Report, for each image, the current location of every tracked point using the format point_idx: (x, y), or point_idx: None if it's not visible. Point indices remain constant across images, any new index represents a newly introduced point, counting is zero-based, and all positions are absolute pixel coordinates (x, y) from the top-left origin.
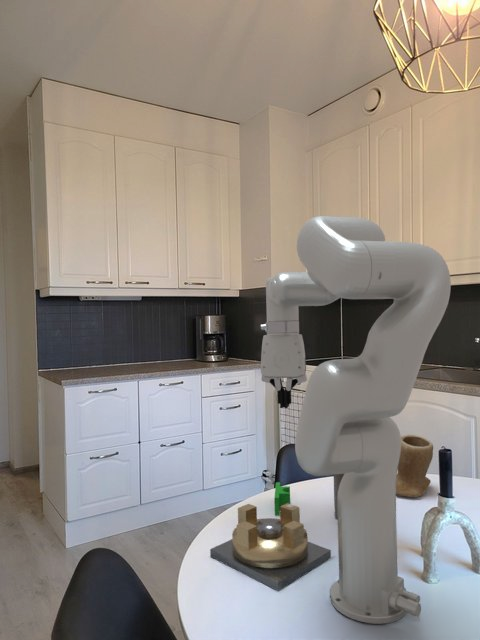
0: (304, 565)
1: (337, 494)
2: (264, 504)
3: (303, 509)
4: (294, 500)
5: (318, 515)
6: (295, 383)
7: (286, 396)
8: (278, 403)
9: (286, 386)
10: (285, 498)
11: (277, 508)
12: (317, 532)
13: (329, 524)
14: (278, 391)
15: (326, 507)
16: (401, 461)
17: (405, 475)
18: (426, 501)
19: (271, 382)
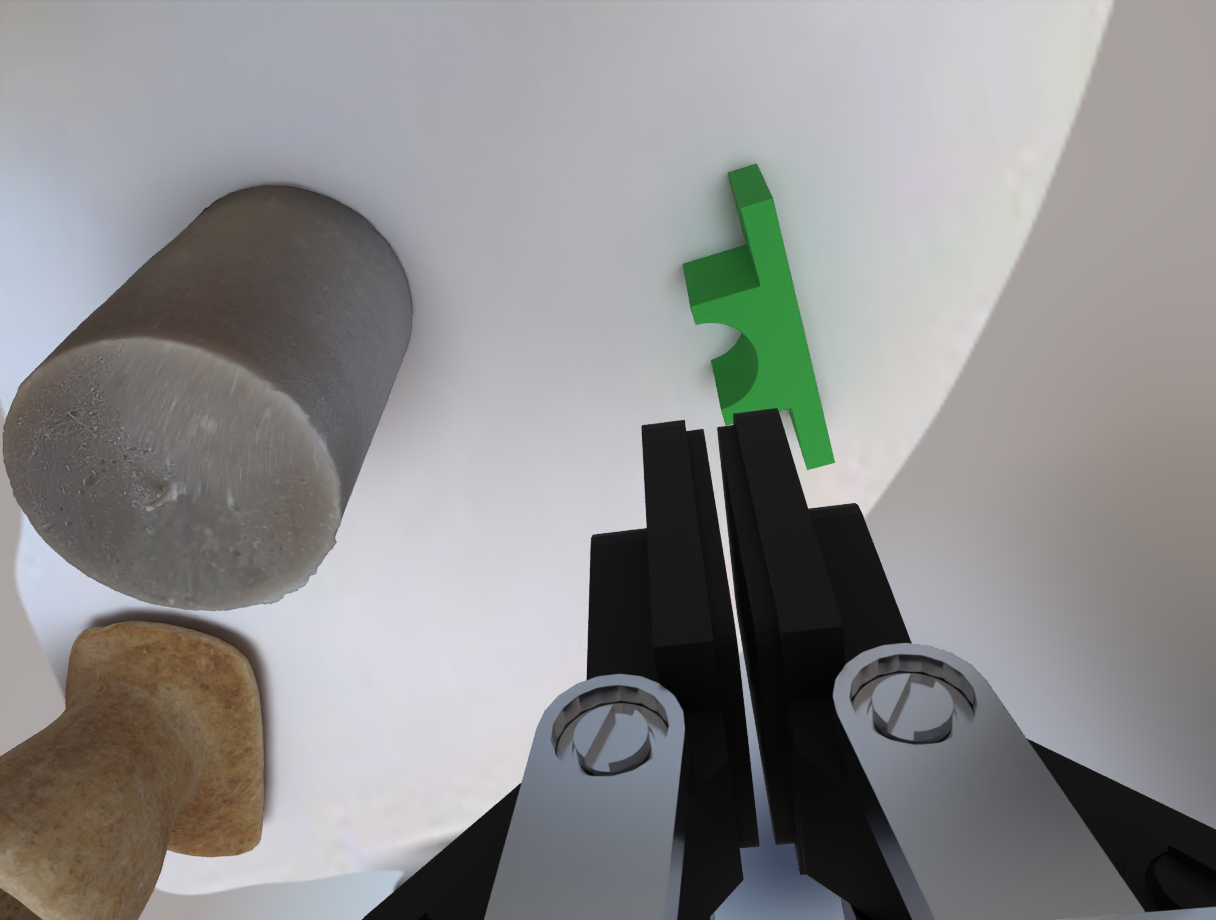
0: None
1: (328, 279)
2: (865, 305)
3: (612, 313)
4: (701, 419)
5: (502, 260)
6: (400, 908)
7: (649, 553)
8: (841, 507)
9: (664, 767)
10: (716, 284)
11: (744, 182)
12: (425, 10)
13: (398, 156)
14: (892, 667)
15: (495, 384)
16: (88, 777)
17: (112, 721)
18: (51, 614)
19: (1210, 849)
